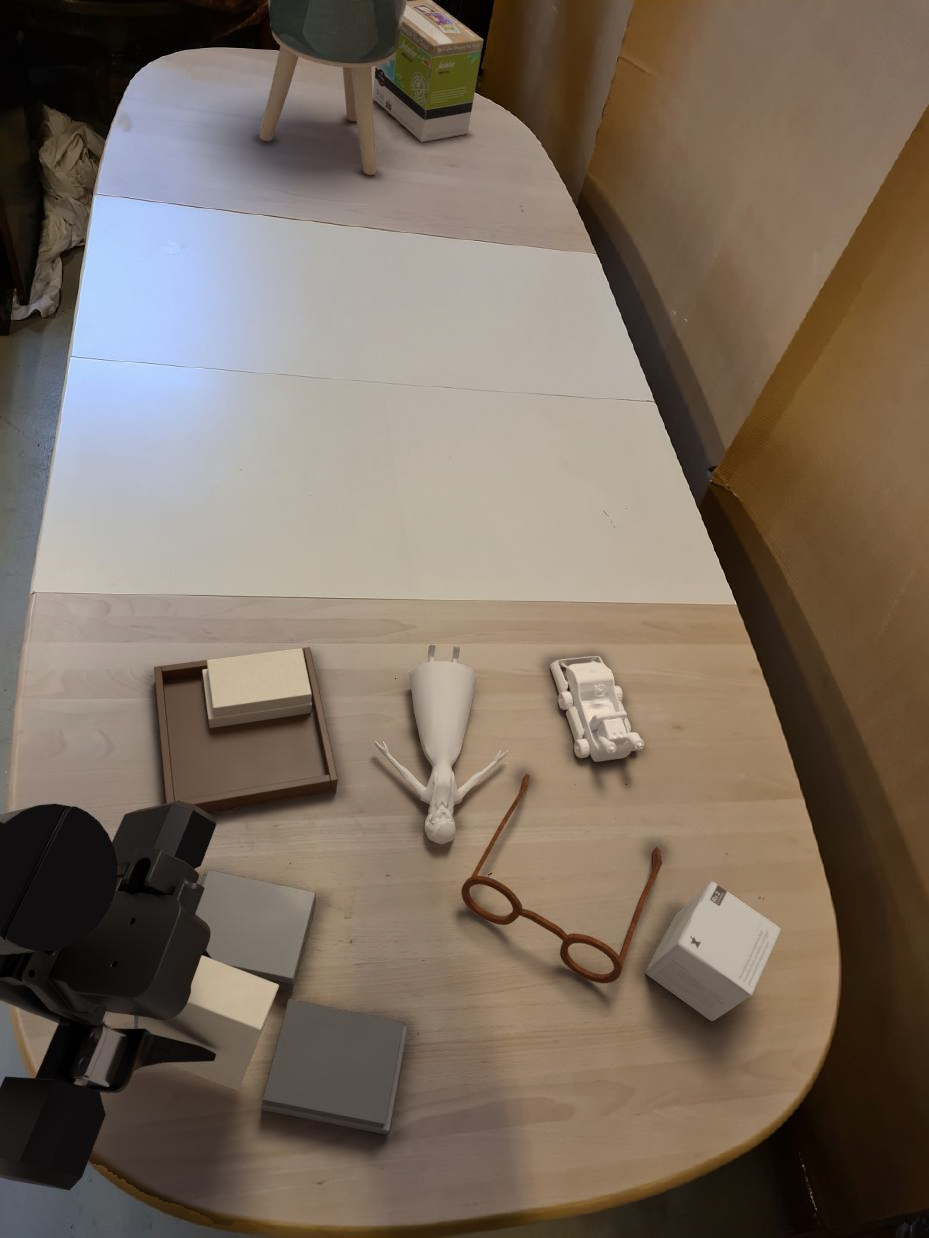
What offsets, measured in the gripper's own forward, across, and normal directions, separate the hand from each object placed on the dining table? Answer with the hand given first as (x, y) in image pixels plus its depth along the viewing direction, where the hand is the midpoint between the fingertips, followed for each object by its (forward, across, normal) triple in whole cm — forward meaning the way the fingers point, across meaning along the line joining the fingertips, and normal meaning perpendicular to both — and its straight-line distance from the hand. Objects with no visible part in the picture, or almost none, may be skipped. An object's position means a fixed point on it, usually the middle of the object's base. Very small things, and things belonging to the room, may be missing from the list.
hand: (221, 1026), depth 51 cm
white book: (+4, 0, +6) cm, 7 cm away
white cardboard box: (+30, +14, -15) cm, 37 cm away
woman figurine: (+14, +27, +1) cm, 31 cm away
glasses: (+23, +18, -8) cm, 30 cm away
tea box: (-4, +143, +20) cm, 145 cm away
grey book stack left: (+6, +8, +8) cm, 14 cm away
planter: (-12, +127, +28) cm, 130 cm away
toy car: (+24, +35, -8) cm, 43 cm away
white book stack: (+2, +28, +12) cm, 30 cm away
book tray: (+3, +24, +12) cm, 27 cm away
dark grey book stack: (+13, +1, +2) cm, 13 cm away
